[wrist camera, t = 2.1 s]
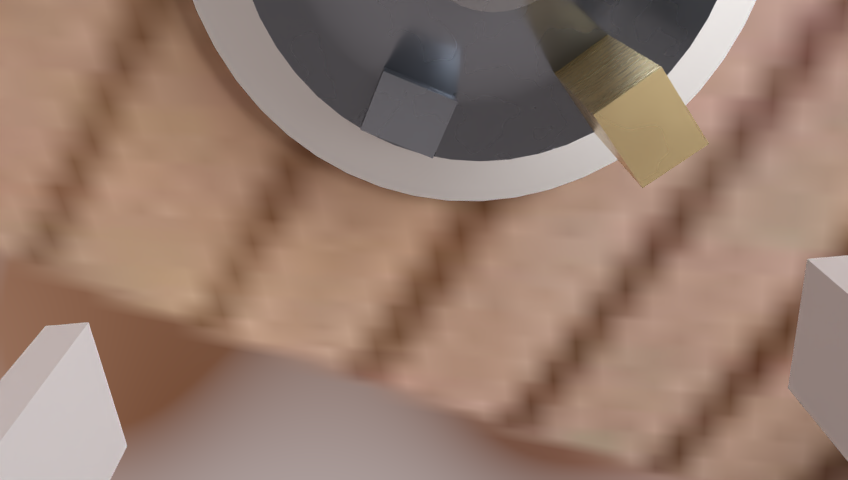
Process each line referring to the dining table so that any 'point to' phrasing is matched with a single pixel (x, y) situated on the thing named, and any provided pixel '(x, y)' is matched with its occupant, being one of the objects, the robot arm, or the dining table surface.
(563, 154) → the housing plate
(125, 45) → the dining table surface
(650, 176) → the grey round piece
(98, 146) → the dining table surface
